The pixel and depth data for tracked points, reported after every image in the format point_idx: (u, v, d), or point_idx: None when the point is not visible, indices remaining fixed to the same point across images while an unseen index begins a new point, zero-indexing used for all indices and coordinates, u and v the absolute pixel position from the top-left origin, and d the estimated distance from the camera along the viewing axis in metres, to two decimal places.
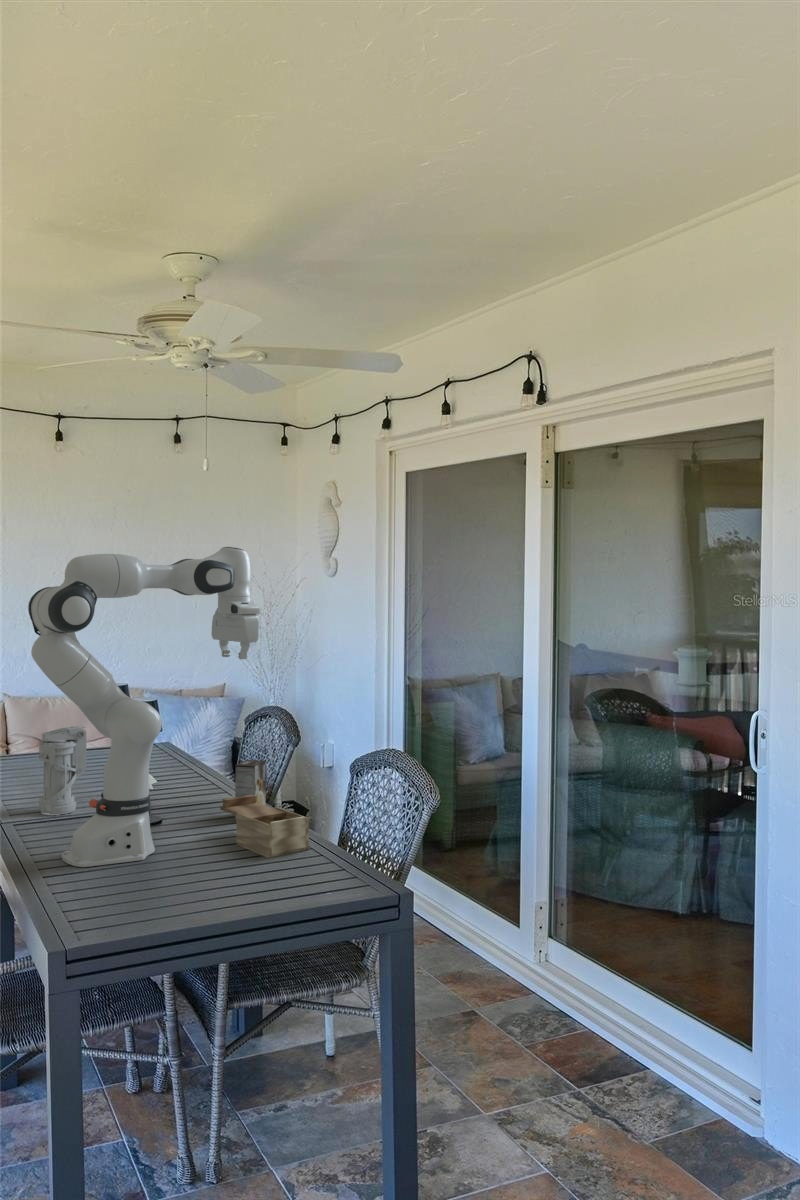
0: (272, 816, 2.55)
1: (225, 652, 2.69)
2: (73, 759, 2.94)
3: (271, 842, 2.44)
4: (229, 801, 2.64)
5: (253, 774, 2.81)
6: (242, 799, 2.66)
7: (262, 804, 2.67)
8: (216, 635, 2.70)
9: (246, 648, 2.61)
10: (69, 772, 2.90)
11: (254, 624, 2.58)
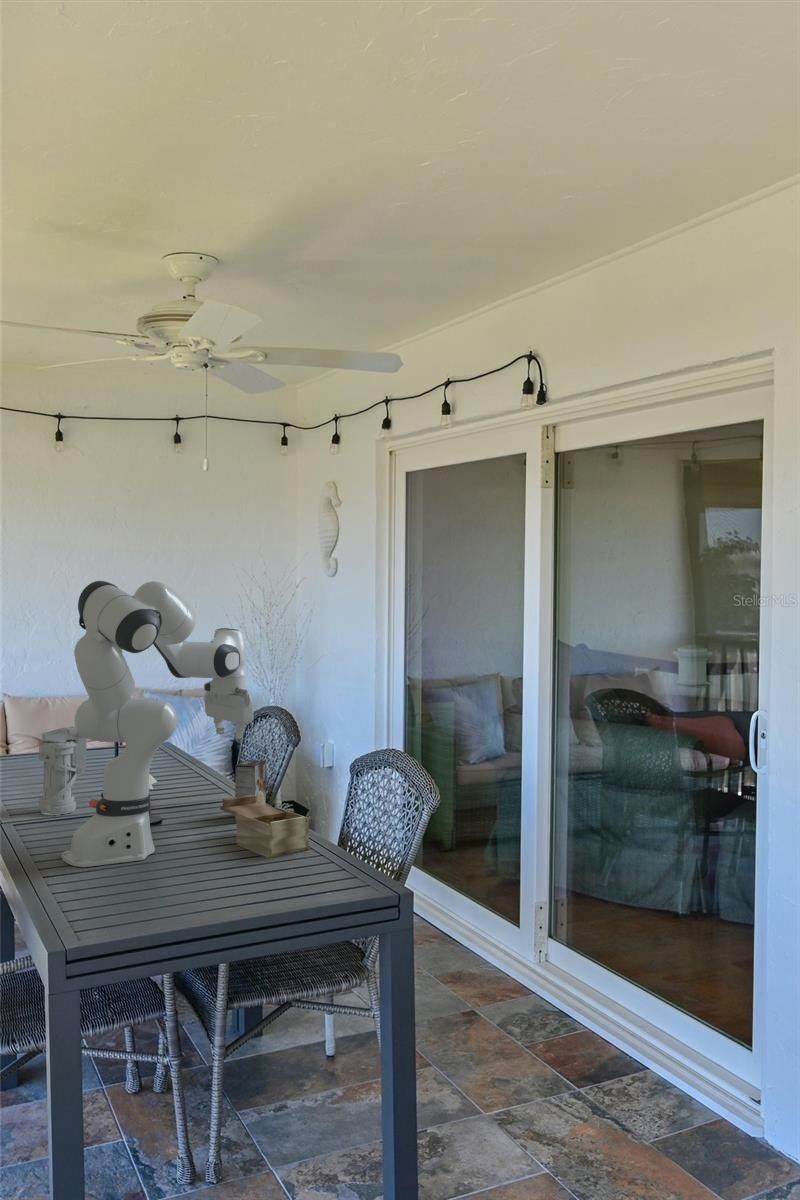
0: (272, 816, 2.55)
1: None
2: (73, 759, 2.94)
3: (271, 842, 2.44)
4: (229, 801, 2.64)
5: (253, 774, 2.81)
6: (242, 799, 2.66)
7: (262, 804, 2.67)
8: None
9: None
10: (69, 772, 2.90)
11: None
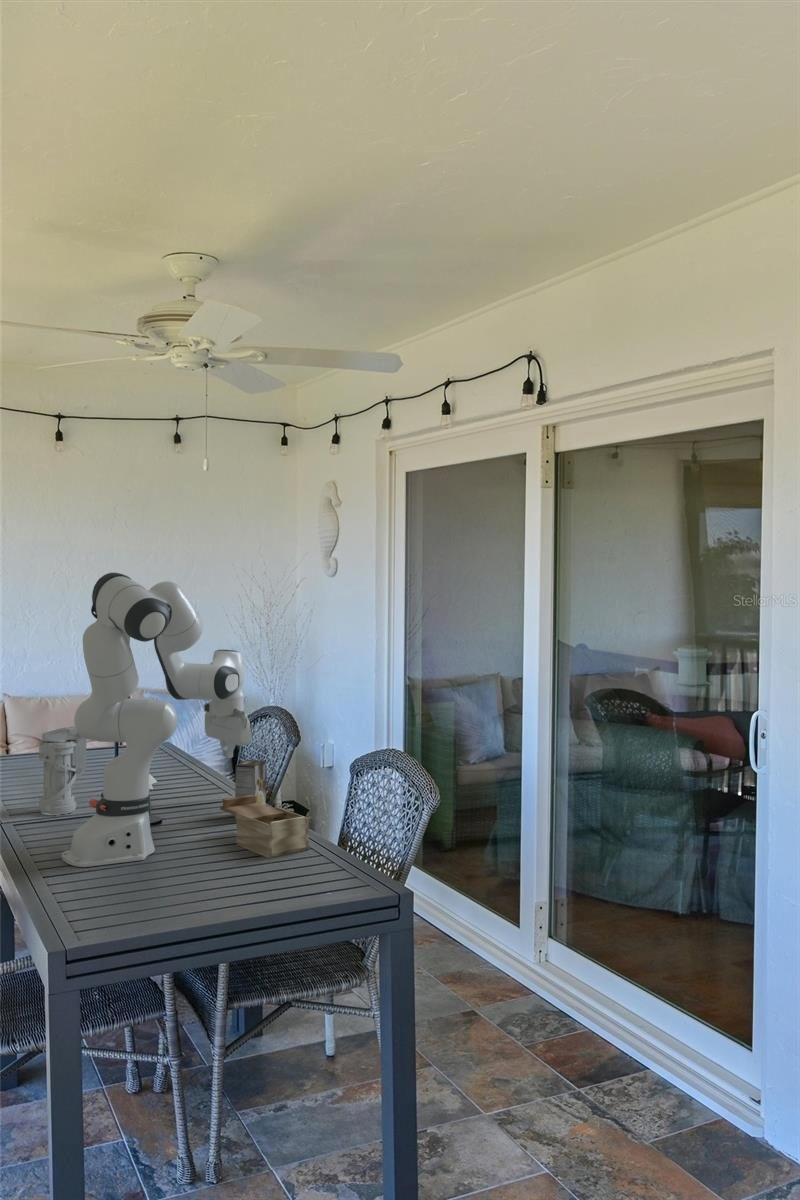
0: (272, 816, 2.55)
1: None
2: (73, 759, 2.94)
3: (271, 842, 2.44)
4: (229, 801, 2.64)
5: (253, 774, 2.81)
6: (242, 799, 2.66)
7: (262, 804, 2.67)
8: None
9: None
10: (69, 772, 2.90)
11: None
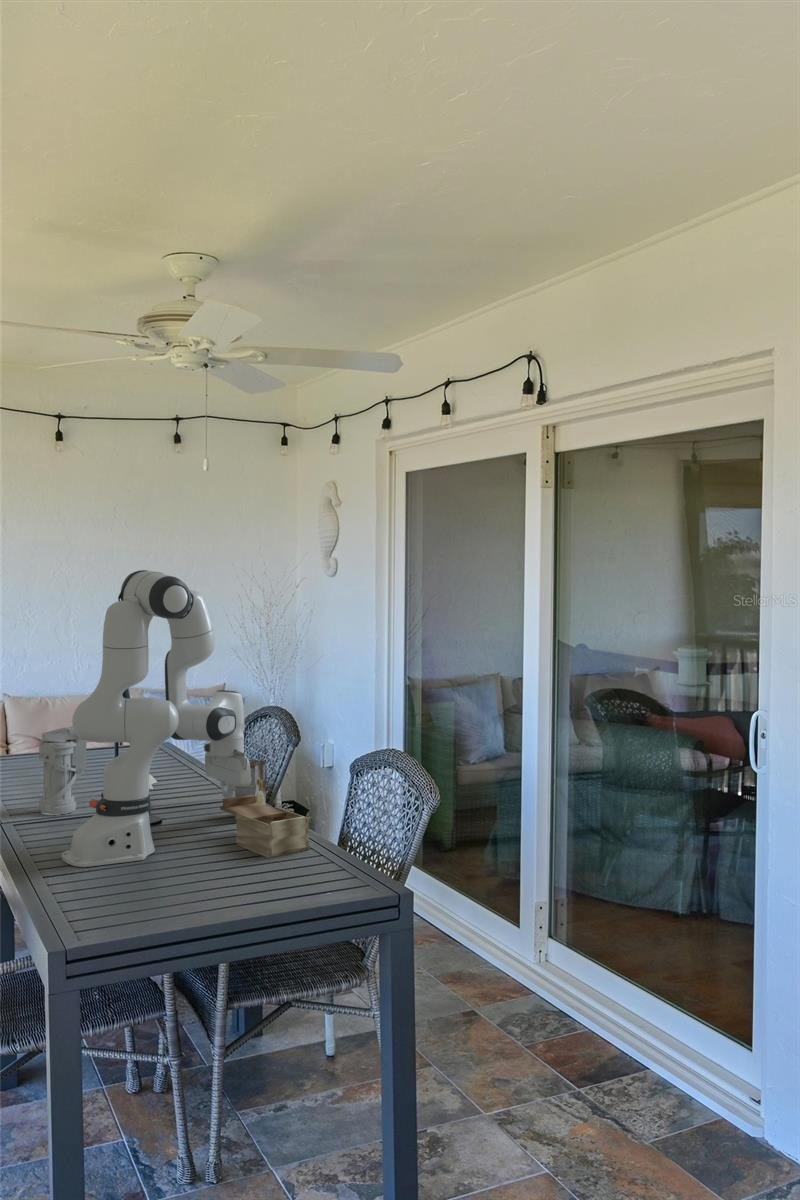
0: (272, 816, 2.55)
1: None
2: (73, 759, 2.94)
3: (271, 842, 2.44)
4: (229, 801, 2.64)
5: (253, 774, 2.81)
6: (242, 799, 2.66)
7: (262, 804, 2.67)
8: None
9: None
10: (69, 772, 2.90)
11: None
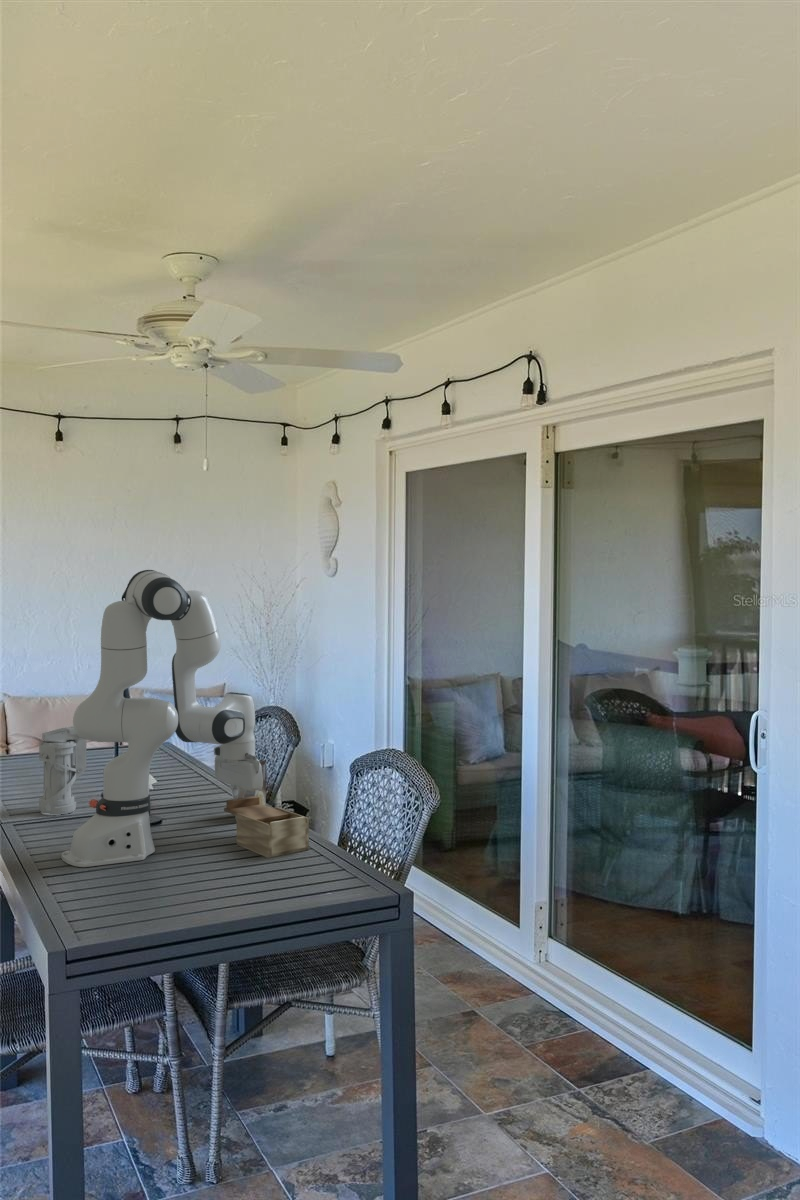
0: (276, 818, 2.54)
1: None
2: (73, 759, 2.94)
3: (271, 842, 2.44)
4: (233, 802, 2.62)
5: None
6: (246, 800, 2.64)
7: None
8: None
9: None
10: (69, 772, 2.90)
11: None
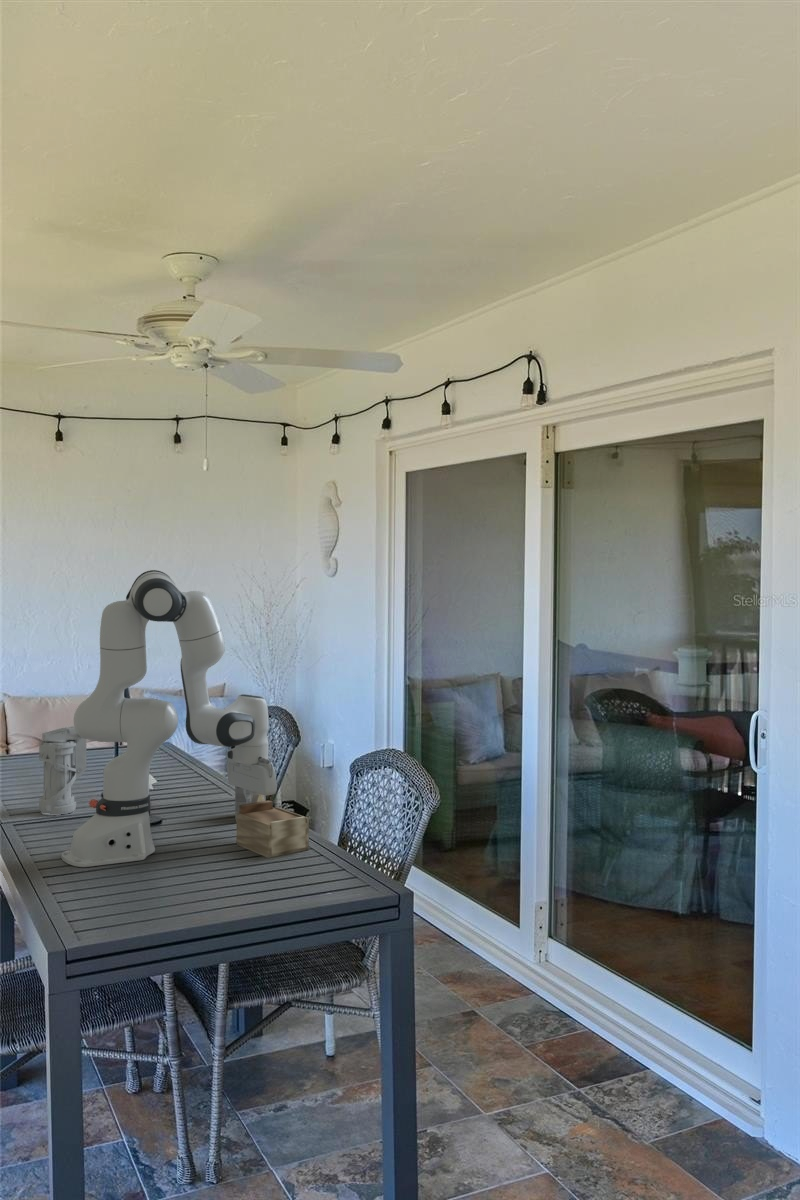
0: None
1: None
2: (73, 759, 2.94)
3: (271, 842, 2.44)
4: (246, 807, 2.57)
5: None
6: (259, 805, 2.59)
7: (279, 810, 2.60)
8: None
9: None
10: (69, 772, 2.90)
11: None
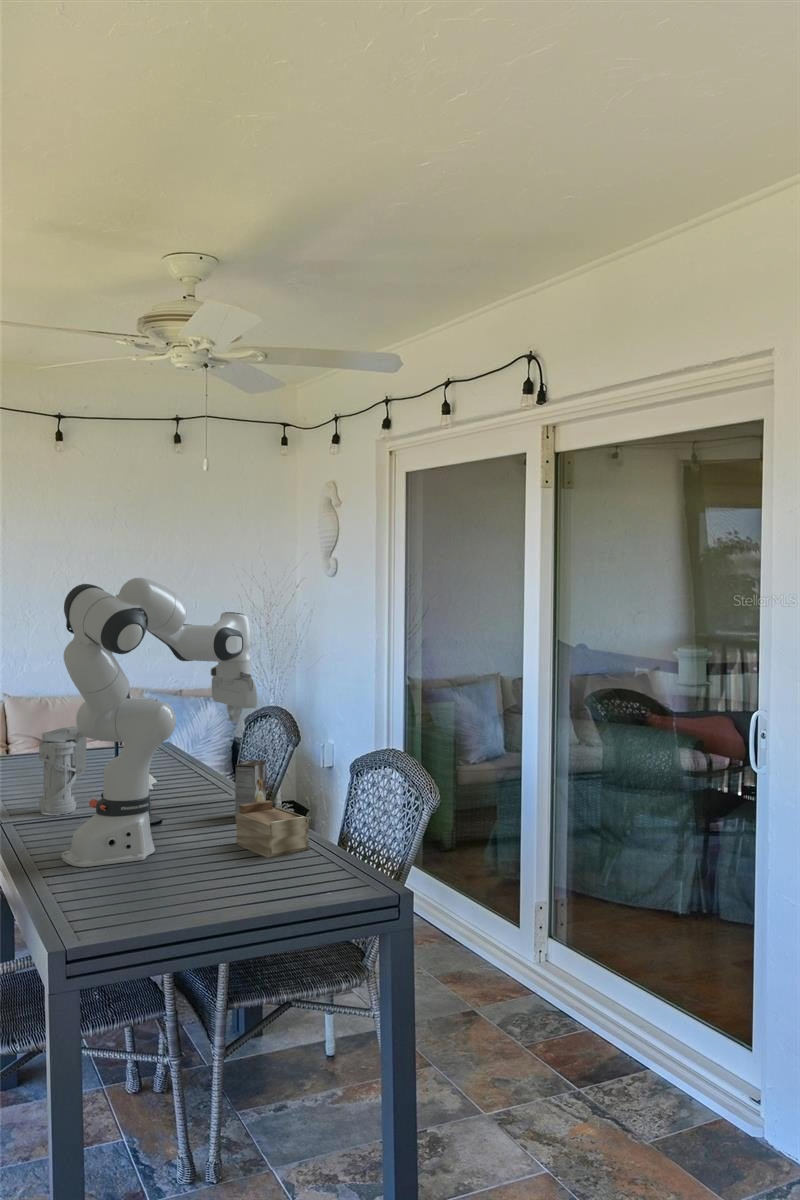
0: None
1: None
2: (73, 759, 2.94)
3: (271, 842, 2.44)
4: (246, 807, 2.57)
5: (253, 774, 2.81)
6: (259, 805, 2.59)
7: (279, 810, 2.60)
8: None
9: None
10: (69, 772, 2.90)
11: None
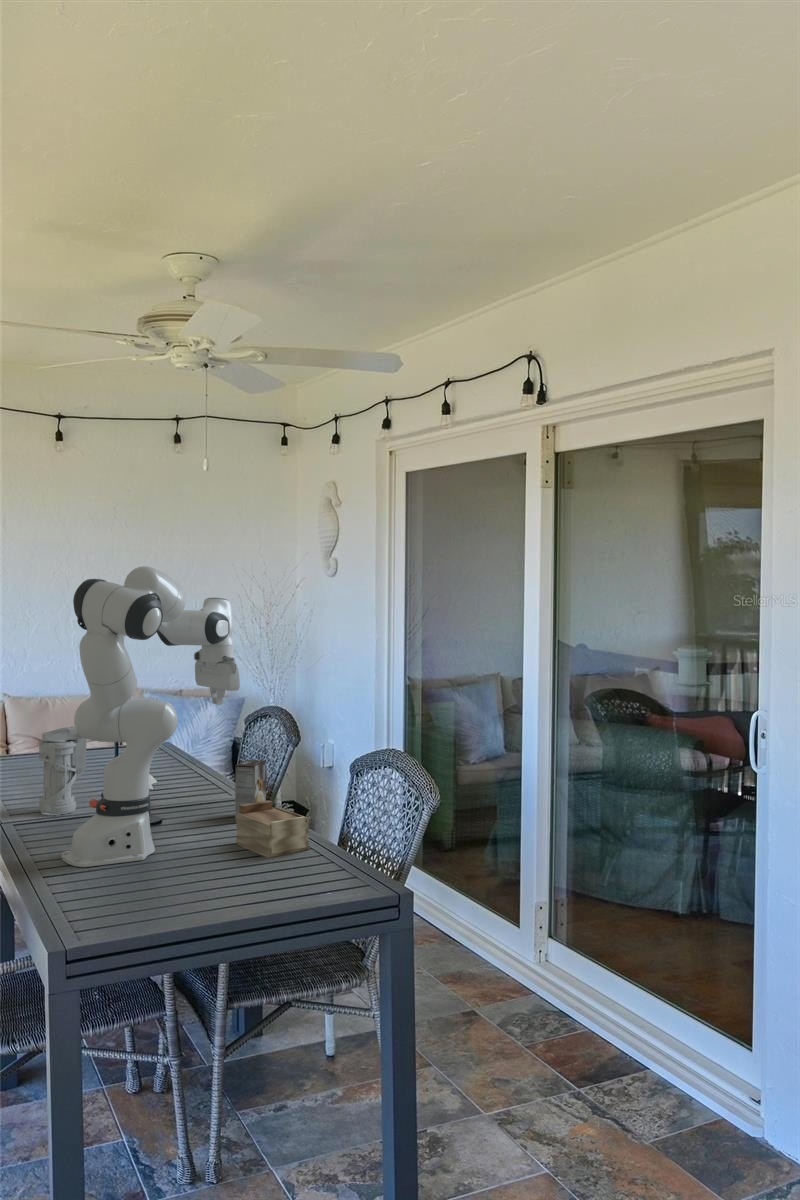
0: None
1: None
2: (73, 759, 2.94)
3: (271, 842, 2.44)
4: (246, 807, 2.57)
5: (253, 774, 2.81)
6: (259, 805, 2.59)
7: (279, 810, 2.60)
8: None
9: None
10: (69, 772, 2.90)
11: None
